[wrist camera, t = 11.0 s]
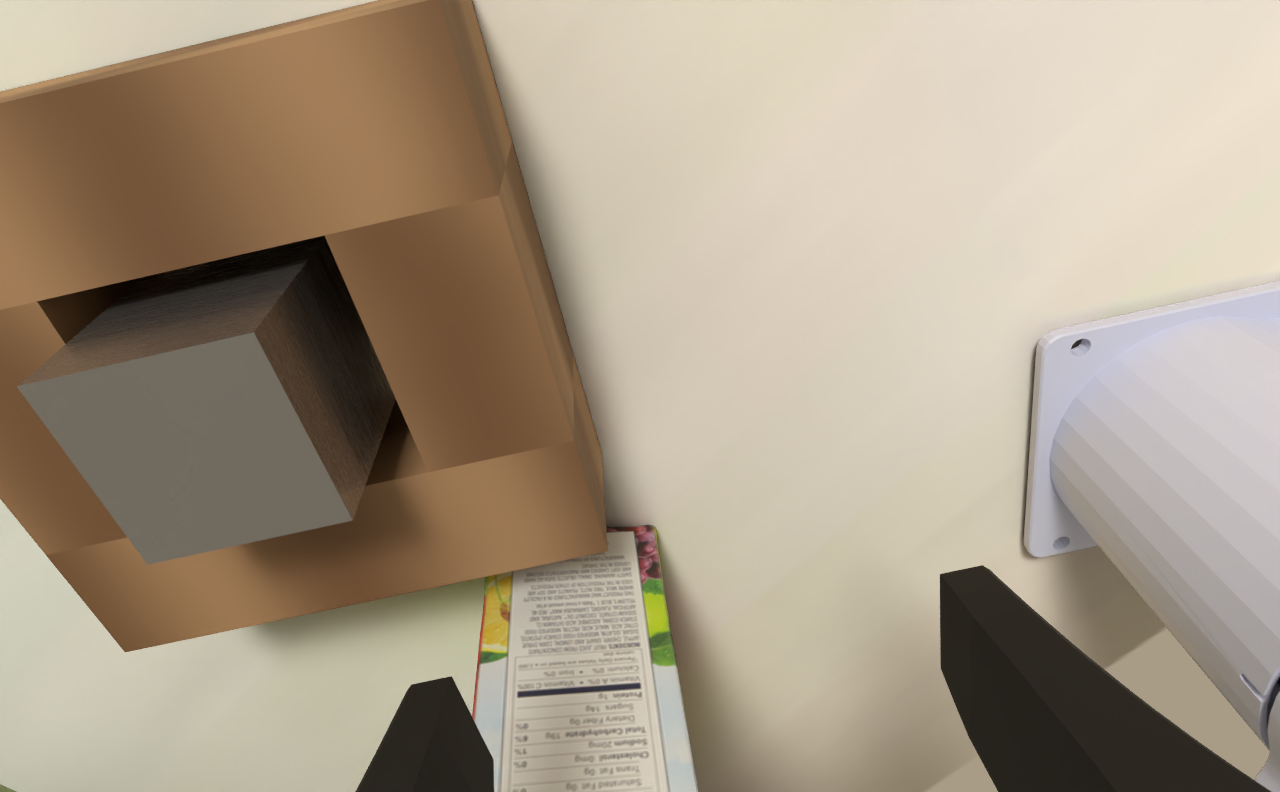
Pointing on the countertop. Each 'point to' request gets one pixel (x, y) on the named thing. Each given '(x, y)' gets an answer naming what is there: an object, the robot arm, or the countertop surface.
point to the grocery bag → (5, 789)
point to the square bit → (222, 402)
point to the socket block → (372, 270)
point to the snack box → (583, 675)
